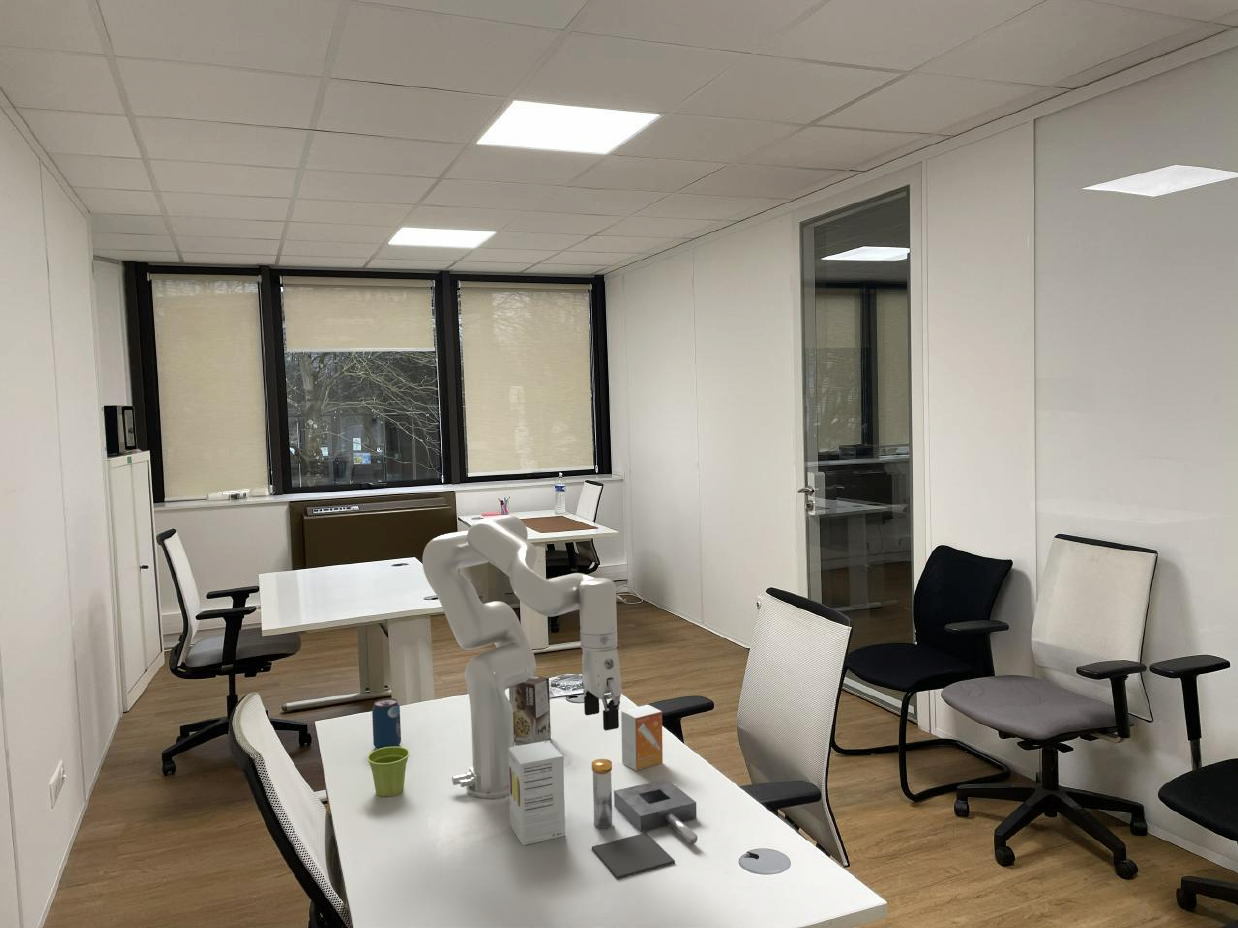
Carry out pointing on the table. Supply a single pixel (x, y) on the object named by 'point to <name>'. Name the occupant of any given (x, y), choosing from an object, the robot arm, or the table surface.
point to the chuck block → (657, 807)
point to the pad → (632, 855)
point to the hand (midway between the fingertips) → (601, 721)
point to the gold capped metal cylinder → (602, 793)
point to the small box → (641, 737)
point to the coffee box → (531, 710)
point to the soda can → (386, 723)
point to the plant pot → (389, 769)
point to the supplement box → (536, 792)
